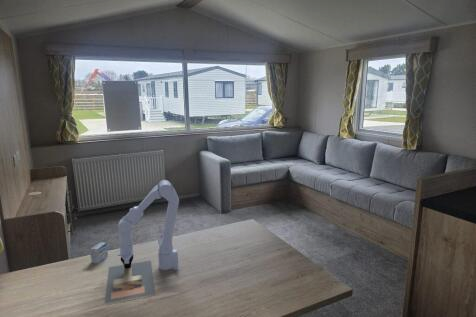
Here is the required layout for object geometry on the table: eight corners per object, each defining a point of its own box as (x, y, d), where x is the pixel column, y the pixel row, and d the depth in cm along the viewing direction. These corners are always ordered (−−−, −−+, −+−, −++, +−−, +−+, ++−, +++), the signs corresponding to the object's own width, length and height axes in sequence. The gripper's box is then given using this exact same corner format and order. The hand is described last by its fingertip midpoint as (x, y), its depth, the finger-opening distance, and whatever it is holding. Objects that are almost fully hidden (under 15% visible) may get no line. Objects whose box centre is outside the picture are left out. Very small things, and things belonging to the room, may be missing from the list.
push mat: (150, 262, 160) (150, 260, 160) (155, 295, 133) (155, 293, 133) (109, 269, 154) (109, 267, 153) (104, 305, 127) (104, 303, 126)
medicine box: (99, 265, 157) (97, 249, 155) (91, 264, 158) (89, 248, 156) (108, 257, 165) (107, 242, 163) (100, 256, 166) (99, 241, 164)
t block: (141, 270, 150) (140, 266, 150) (142, 284, 139) (141, 279, 139) (114, 275, 146) (114, 270, 146) (113, 289, 136) (112, 284, 135)
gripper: (117, 238, 152) (119, 263, 155) (116, 252, 138) (118, 279, 141) (132, 236, 154) (134, 261, 157) (133, 249, 141) (134, 276, 143)
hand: (128, 270), depth 149 cm, fingers closed
